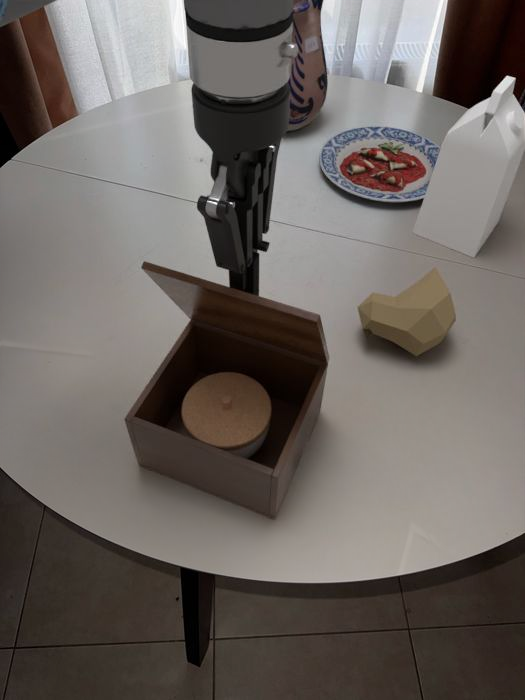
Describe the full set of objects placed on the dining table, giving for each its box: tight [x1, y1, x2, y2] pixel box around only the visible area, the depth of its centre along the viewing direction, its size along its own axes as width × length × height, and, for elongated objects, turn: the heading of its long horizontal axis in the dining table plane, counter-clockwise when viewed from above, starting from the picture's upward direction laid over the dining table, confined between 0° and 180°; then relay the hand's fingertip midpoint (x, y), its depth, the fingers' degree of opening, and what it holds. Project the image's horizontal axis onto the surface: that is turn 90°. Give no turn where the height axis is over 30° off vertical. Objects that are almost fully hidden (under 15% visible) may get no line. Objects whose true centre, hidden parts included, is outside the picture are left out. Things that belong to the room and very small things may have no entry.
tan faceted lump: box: [356, 266, 457, 357], centre depth 84 cm, size 15×11×12 cm
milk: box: [412, 75, 525, 259], centre depth 94 cm, size 12×12×26 cm
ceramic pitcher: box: [287, 0, 329, 132], centre depth 117 cm, size 18×21×25 cm
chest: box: [123, 319, 329, 521], centre depth 72 cm, size 17×19×11 cm
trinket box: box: [181, 372, 272, 459], centre depth 71 cm, size 11×11×9 cm
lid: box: [140, 261, 330, 364], centre depth 64 cm, size 17×19×1 cm
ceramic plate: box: [319, 126, 441, 203], centre depth 114 cm, size 26×26×3 cm
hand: (244, 300), depth 62 cm, fingers closed
